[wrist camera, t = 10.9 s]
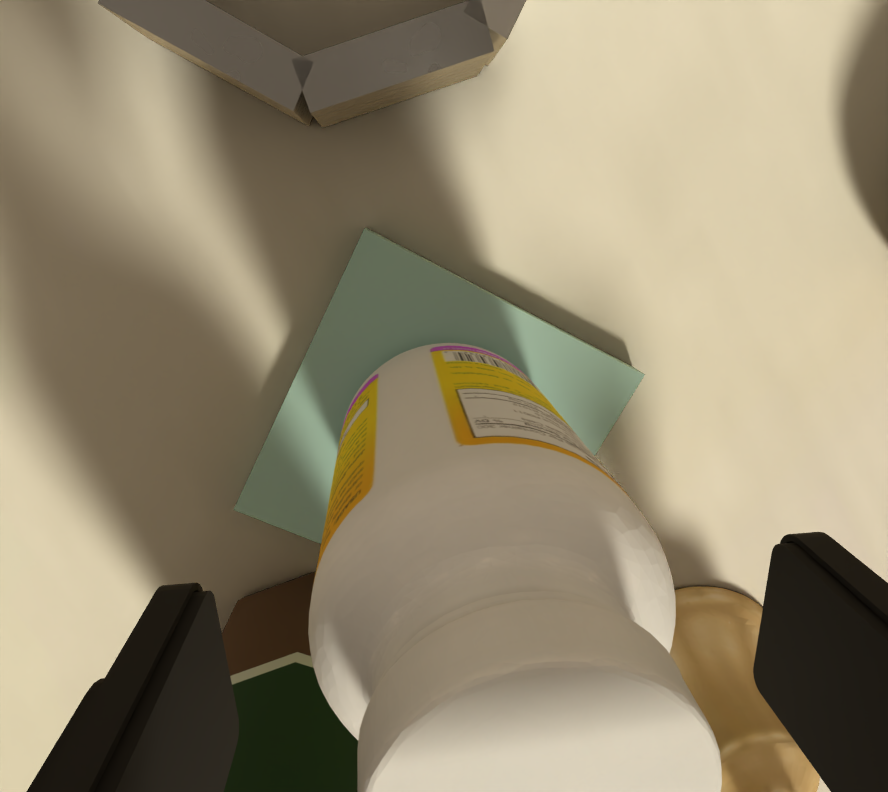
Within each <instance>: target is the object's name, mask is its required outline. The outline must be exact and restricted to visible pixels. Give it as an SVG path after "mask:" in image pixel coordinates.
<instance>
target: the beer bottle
mask: <svg viewBox="0 0 888 792" xmlns="http://www.w3.org/2000/svg"><path fill="white" fill-rule="evenodd" d="M315 573H316V572H313V573H310V574H307V575H304V576H302V577H299V578H296V579H293V580H291V581H288V582H285V583H282V584H279V585H277V586H274V587H271V588H268V589H266V590H263V591H260V592H257V593H254V594H252V595H249V596H246V597H244V598H242V599H240V600H238V601H237V603H236V605H235V607H234V610H233V612H232V614H231V616H230V618H229V620H228V622H227V624H226V626H225V628H224V631H223V633H222V638H223V643H224V648H225V652H226V657H227V662H228V667H229V672H230V677H231V682H232V687H233V692H234V697H235V702H236V707H237V712H238V717H239V736H238V742H237V746H236V750H235V753H234V757H233V761H232V764H231V768H230V771H229V775H228V778H227V782H226V785H225V789H224V792H357V787H358V771H357V748H358V740H357V739H356V738H355V737H354V736H353V735H352V734H351V733H350V732H349V731H348V729H347V728H346V727H345V726H344V725H343V724H342V722H341V721H340V720H339V718H338V717H337V715H336V714H335V713H334V711H333V710H332V708H331V707H330V705H329V703H328V702H327V700H326V698H325V696H324V694H323V692H322V690H321V688H320V686H319V683H318V680H317V677H316V674H315V671H314V668H313V664H312V658H311V652H310V644H309V635H308V628H309V610H310V603H311V596H312V590H313V584H314V578H315Z"/></svg>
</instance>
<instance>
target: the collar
mask: <svg viewBox="0 0 888 792" xmlns="http://www.w3.org/2000/svg"><path fill="white" fill-rule="evenodd" d="M525 2H526V0H468V1H465V2H462V3H459V4H456V5H453V6H450V7H447V8H444V9H441V10H438V11H435V12H432V13H429V14H426V15H423V16H420V17H417V18H414V19H411V20H408V21H405V22H402V23H399V24H396V25H393V26H390V27H387V28H384V29H382V30H379V31H376V32H373V33H370V34H367V35H364V36H361V37H358V38H355V39H352V40H349V41H346V42H343V43H340V44H337V45H334V46H331V47H328V48H325V49H322V50H319V51H316V52H313V53H310V54H307V55H304V56H302V55H300V54H298V53H297V52H295V51H293V50H291V49H290V48H288V47H286V46H284V45H283V44H281V43H279V42H277V41H276V40H274V39H272V38H270V37H269V36H267V35H265V34H263V33H262V32H260V31H258V30H256V29H255V28H253V27H251V26H249V25H248V24H246V23H244V22H243V21H241V20H239V19H237V18H236V17H234V16H232V15H230V14H229V13H227V12H225V11H223V10H222V9H220V8H218V7H216V6H215V5H213V4H211V3H209V2H208V1H206V0H99V1H98V4H99V5H101V6H102V7H104V8H105V9H107V10H108V11H110V12H111V13H112V14H114V15H115V16H117V17H118V18H120V19H121V20H123V21H124V22H125V23H127V24H128V25H130V26H131V27H133V28H134V29H136V30H137V31H138V32H140V33H141V34H143V35H144V36H146V37H147V38H149V39H150V40H152V41H154V42H156V43H158V44H160V45H161V46H163V47H165V48H167V49H169V50H171V51H172V52H174V53H176V54H178V55H180V56H181V57H183V58H185V59H187V60H189V61H191V62H192V63H194V64H196V65H198V66H200V67H201V68H203V69H205V70H207V71H209V72H211V73H212V74H214V75H216V76H218V77H220V78H222V79H223V80H225V81H227V82H229V83H231V84H232V85H234V86H236V87H238V88H240V89H242V90H243V91H245V92H247V93H249V94H251V95H253V96H254V97H256V98H258V99H260V100H262V101H263V102H265V103H267V104H269V105H271V106H273V107H274V108H276V109H278V110H280V111H282V112H283V113H285V114H287V115H289V116H291V117H293V118H294V119H296V120H298V121H300V122H302V123H304V124H305V125H307V126H309V124H310V122H311V120H312V117H314V118H315V119H316V120H317V122H318V123H319V124H320V125H321V126H322V127H323V128H324V127H327V126H330V125H333V124H336V123H339V122H342V121H345V120H348V119H351V118H354V117H357V116H360V115H363V114H366V113H369V112H372V111H375V110H377V109H380V108H383V107H386V106H389V105H392V104H395V103H398V102H401V101H404V100H407V99H410V98H413V97H416V96H419V95H422V94H425V93H428V92H431V91H434V90H437V89H440V88H443V87H446V86H449V85H452V84H455V83H458V82H461V81H464V80H467V79H470V78H473V77H476V76H477V75H478V74H479V73H480V71H481V70H482V68H483V67H484V65H486V66H488V65H489V64H490V62H491V61H492V60H493V58H494V57H495V56H496V54H497V53H498V51H499V50H500V49H501V47H502V46H503V45H504V43H505V42H506V40H507V39H508V37H509V35H510V33H511V31H512V29H513V26H514V24H515V22H516V20H517V18H518V16H519V14H520V12H521V10H522V8H523V6H524V4H525Z"/></svg>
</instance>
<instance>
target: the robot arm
mask: <svg viewBox="0 0 888 792" xmlns="http://www.w3.org/2000/svg"><path fill="white" fill-rule="evenodd" d="M753 675H754V680H755V684H756V686H757V688H758V690H759V692H760V694H761V695H762V696H763V698H764V699H765V701H766V702H767V703H768V705H769V706H770V708H771V709H772V710H773V712H774V713H775V715H776V716H777V717H778V719H779V720H780V721H781V723H782V724H783V726H784V727H785V728H786V730H787V731H788V733H789V734H790V735H791V737H792V738H793V740H794V741H795V742H796V744H797V745H798V746H799V748H800V749H801V751H802V752H803V753H804V755H805V756H806V758H807V759H808V760H809V762H810V763H811V764H812V766H813V767H814V769H815V770H816V771H817V773H818V774H819V776H820V777H821V778H822V780H823V781H824V783H825V784H826V785H827V787H828V788H829V789H830V791H831V792H888V583H887V582H886V581H884V580H883V579H882V578H881V577H879V576H878V575H877V574H876V573H874V572H873V571H872V570H871V569H870V568H868V567H867V566H866V565H865V564H863V563H862V562H861V561H860V560H858V559H857V558H856V557H855V556H853V555H852V554H851V553H850V552H848V551H847V550H846V549H845V548H843V547H842V546H841V545H840V544H839V543H837V542H836V541H835V540H834V539H832V538H831V537H830V536H828V535H827V534H825V533H822V532H812V533H800V534H788V535H786V536H784V537H783V538H782V540H781V542H780V544H777V545H775V547H774V548H773V551H772V555H771V561H770V567H769V573H768V580H767V586H766V592H765V598H764V604H763V611H762V617H761V623H760V629H759V635H758V641H757V648H756V654H755V660H754V666H753ZM238 736H239V717H238V712H237V707H236V702H235V697H234V692H233V687H232V682H231V677H230V672H229V667H228V662H227V657H226V652H225V648H224V643H223V638H222V633H221V628H220V623H219V618H218V613H217V608H216V603H215V598H214V595H213V593H212V592H211V591H204V592H203V590H202V587H201V586H200V584H198V583H188V584H176V585H163V586H161V587H159V588H158V589H157V590H156V592H155V594H154V595H153V597H152V599H151V600H150V602H149V604H148V606H147V607H146V609H145V611H144V612H143V614H142V616H141V617H140V619H139V621H138V623H137V624H136V626H135V628H134V629H133V631H132V633H131V635H130V636H129V638H128V640H127V641H126V643H125V645H124V646H123V648H122V650H121V652H120V653H119V655H118V657H117V658H116V660H115V662H114V663H113V665H112V667H111V669H110V670H109V672H108V674H107V675H106V677H105V678H103V679H100V680H98V681H97V682H95V683H94V684H93V685H92V686H91V688H90V689H89V690H88V692H87V693H86V695H85V696H84V698H83V700H82V701H81V703H80V705H79V706H78V708H77V709H76V711H75V713H74V714H73V716H72V718H71V719H70V721H69V723H68V724H67V726H66V728H65V729H64V731H63V733H62V734H61V736H60V738H59V739H58V741H57V742H56V744H55V746H54V747H53V749H52V751H51V752H50V754H49V756H48V757H47V759H46V761H45V762H44V764H43V766H42V767H41V769H40V771H39V772H38V774H37V775H36V777H35V779H34V780H33V782H32V784H31V785H30V787H29V789H28V790H27V792H224V789H225V785H226V782H227V778H228V775H229V771H230V768H231V764H232V761H233V757H234V753H235V750H236V746H237V742H238Z"/></svg>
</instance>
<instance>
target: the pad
mask: <svg viewBox="0 0 888 792" xmlns="http://www.w3.org/2000/svg"><path fill="white" fill-rule="evenodd" d="M438 343H459V344H467V345H472V346H476V347H480V348H483V349H486V350H488V351H491V352H493V353H495V354H497V355H499V356H501V357H503V358H505V359H506V360H508V361H509V362H511V363H512V364H513V365H514V366H516V367H517V368H518V369H519V370H521V371H522V372H523V373H524V374H525V375H526V376H527V377H528V378H529V379H530V380H531V381H532V382H533V383H534V384H535V385H536V387H537V388H538V389H539V390H540V391H541V392H542V394H543V395H544V396H545V397H546V398H547V399H548V401H549V402H550V403H551V404H552V405H553V407H554V408H555V409H556V410H557V412H558V413H559V414H560V415H561V416H562V417H563V419H564V420H565V421H566V422H567V424H568V425H569V426H570V427H571V428H572V430H573V431H574V432H575V433H576V434H577V436H578V437H579V438H580V439H581V440H582V442H583V443H584V444H585V445H586V447H587V448H588V449H589V450H590V451H591V452H592V454H593V455H594V456H595V455H596V453H597V451H598V450H599V448H600V447H601V445H602V443H603V442H604V440H605V438H606V437H607V435H608V434H609V432H610V430H611V429H612V427H613V426H614V424H615V422H616V421H617V419H618V417H619V416H620V414H621V413H622V411H623V409H624V408H625V406H626V404H627V403H628V401H629V400H630V398H631V396H632V395H633V393H634V392H635V390H636V388H637V387H638V385H639V383H640V382H641V380H642V379H643V377H644V374H643V373H641V372H640V371H638V370H637V369H635V368H634V367H632V366H630V365H628V364H627V363H625V362H623V361H621V360H619V359H617V358H615V357H613V356H611V355H609V354H607V353H605V352H604V351H602V350H600V349H598V348H596V347H594V346H592V345H590V344H588V343H586V342H584V341H582V340H581V339H579V338H577V337H575V336H573V335H571V334H569V333H567V332H565V331H563V330H561V329H559V328H557V327H556V326H554V325H552V324H550V323H548V322H546V321H544V320H542V319H540V318H538V317H536V316H534V315H533V314H531V313H529V312H527V311H525V310H523V309H521V308H519V307H517V306H515V305H513V304H511V303H510V302H508V301H506V300H504V299H502V298H500V297H498V296H496V295H494V294H492V293H490V292H488V291H487V290H485V289H483V288H481V287H479V286H477V285H475V284H473V283H471V282H469V281H467V280H465V279H464V278H462V277H460V276H458V275H456V274H454V273H452V272H450V271H448V270H446V269H444V268H442V267H441V266H439V265H437V264H435V263H433V262H431V261H429V260H427V259H425V258H423V257H421V256H419V255H418V254H416V253H414V252H412V251H410V250H408V249H406V248H404V247H402V246H400V245H398V244H396V243H395V242H393V241H391V240H389V239H387V238H385V237H383V236H381V235H379V234H377V233H375V232H373V231H372V230H370V229H368V228H366V227H365V228H364V230H363V232H362V235H361V237H360V239H359V241H358V243H357V245H356V248H355V250H354V252H353V254H352V256H351V258H350V260H349V263H348V265H347V267H346V269H345V271H344V273H343V275H342V278H341V280H340V282H339V284H338V286H337V288H336V290H335V293H334V295H333V297H332V299H331V301H330V303H329V306H328V308H327V310H326V312H325V314H324V316H323V318H322V321H321V323H320V325H319V327H318V329H317V331H316V333H315V336H314V338H313V340H312V342H311V344H310V346H309V348H308V351H307V353H306V355H305V357H304V359H303V361H302V364H301V366H300V368H299V370H298V372H297V374H296V376H295V379H294V381H293V383H292V385H291V387H290V389H289V391H288V394H287V396H286V398H285V400H284V402H283V404H282V406H281V409H280V411H279V413H278V415H277V417H276V419H275V422H274V424H273V426H272V428H271V430H270V432H269V434H268V437H267V439H266V441H265V443H264V445H263V447H262V449H261V452H260V454H259V456H258V458H257V460H256V462H255V464H254V467H253V469H252V471H251V473H250V475H249V477H248V479H247V482H246V484H245V486H244V488H243V490H242V492H241V495H240V497H239V499H238V501H237V503H236V505H235V507H234V510H235V511H237V512H240V513H243V514H245V515H248V516H250V517H253V518H255V519H258V520H260V521H263V522H265V523H268V524H271V525H273V526H276V527H278V528H281V529H283V530H286V531H288V532H291V533H294V534H296V535H299V536H301V537H304V538H306V539H309V540H311V541H314V542H317V543H319V544H321V542H322V536H323V531H324V526H325V521H326V515H327V510H328V504H329V498H330V492H331V486H332V481H333V475H334V469H335V464H336V458H337V452H338V447H339V441H340V436H341V431H342V427H343V423H344V419H345V416H346V413H347V411H348V408H349V406H350V404H351V402H352V400H353V398H354V396H355V394H356V393H357V391H358V390H359V388H360V387H361V385H362V384H363V383H364V382H365V380H366V379H367V378H368V377H369V376H370V375H371V374H372V373H373V372H374V371H375V370H377V369H378V368H379V367H380V366H382V365H383V364H384V363H386V362H387V361H389V360H390V359H392V358H393V357H395V356H397V355H399V354H401V353H403V352H406V351H408V350H411V349H414V348H417V347H420V346H425V345H430V344H438Z"/></svg>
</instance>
